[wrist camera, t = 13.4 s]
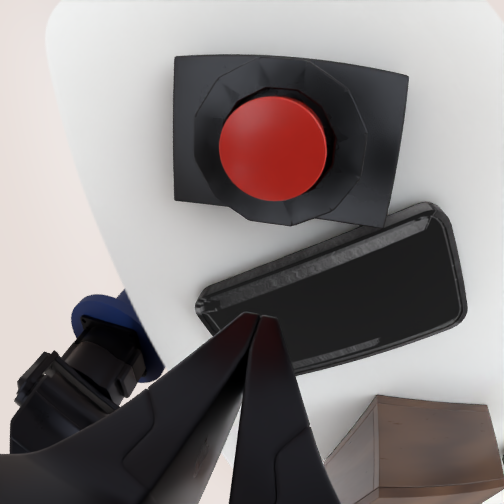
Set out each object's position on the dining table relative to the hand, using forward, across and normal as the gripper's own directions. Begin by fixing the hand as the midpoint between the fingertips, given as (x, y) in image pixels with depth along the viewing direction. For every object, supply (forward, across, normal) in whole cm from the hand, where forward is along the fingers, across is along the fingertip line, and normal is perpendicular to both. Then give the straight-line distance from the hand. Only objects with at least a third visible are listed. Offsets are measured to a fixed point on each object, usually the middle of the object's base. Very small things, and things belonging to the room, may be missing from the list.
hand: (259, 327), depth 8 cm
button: (+6, +1, -3) cm, 7 cm away
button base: (+9, +1, -3) cm, 10 cm away
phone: (+9, -3, +6) cm, 11 cm away
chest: (+9, -14, +20) cm, 26 cm away
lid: (+2, -14, +20) cm, 25 cm away
